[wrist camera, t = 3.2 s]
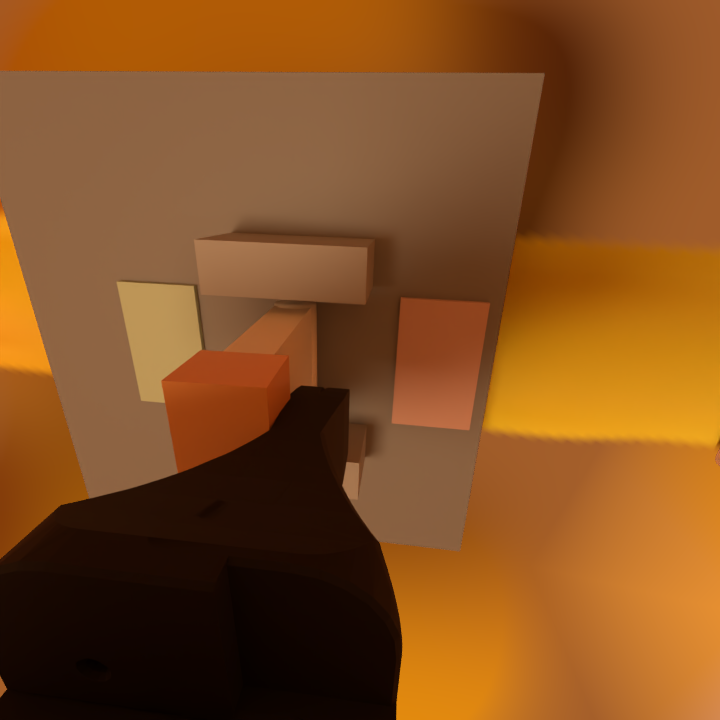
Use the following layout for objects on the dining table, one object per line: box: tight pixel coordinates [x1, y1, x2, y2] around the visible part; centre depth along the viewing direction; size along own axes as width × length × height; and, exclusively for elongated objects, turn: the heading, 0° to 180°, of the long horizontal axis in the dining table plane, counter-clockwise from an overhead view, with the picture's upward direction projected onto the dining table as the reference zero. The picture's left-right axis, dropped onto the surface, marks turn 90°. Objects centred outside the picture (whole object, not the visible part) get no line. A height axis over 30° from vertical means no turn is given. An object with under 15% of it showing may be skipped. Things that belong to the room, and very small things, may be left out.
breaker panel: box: [0, 71, 545, 551], centre depth 15 cm, size 18×18×6 cm
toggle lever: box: [161, 300, 317, 473], centre depth 11 cm, size 2×5×7 cm, turn 178°
